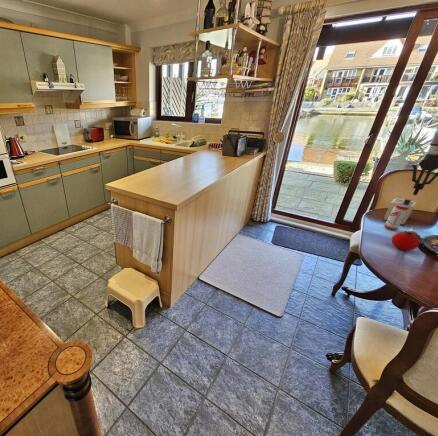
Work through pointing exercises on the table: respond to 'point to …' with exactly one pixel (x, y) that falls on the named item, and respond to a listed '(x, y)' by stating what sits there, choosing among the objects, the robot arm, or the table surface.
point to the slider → (407, 201)
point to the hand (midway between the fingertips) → (414, 194)
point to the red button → (413, 232)
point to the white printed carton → (394, 203)
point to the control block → (420, 239)
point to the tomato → (405, 240)
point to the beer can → (396, 217)
